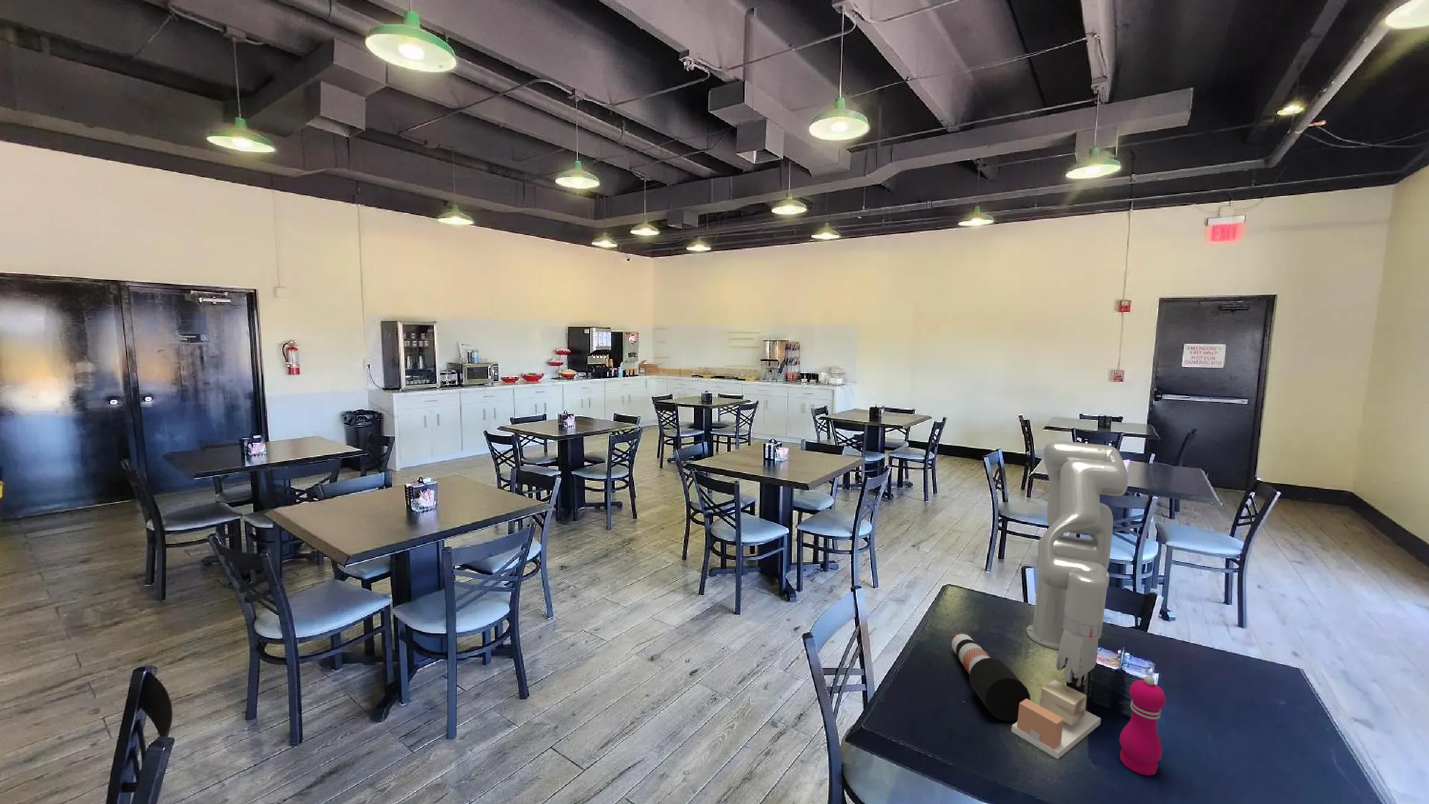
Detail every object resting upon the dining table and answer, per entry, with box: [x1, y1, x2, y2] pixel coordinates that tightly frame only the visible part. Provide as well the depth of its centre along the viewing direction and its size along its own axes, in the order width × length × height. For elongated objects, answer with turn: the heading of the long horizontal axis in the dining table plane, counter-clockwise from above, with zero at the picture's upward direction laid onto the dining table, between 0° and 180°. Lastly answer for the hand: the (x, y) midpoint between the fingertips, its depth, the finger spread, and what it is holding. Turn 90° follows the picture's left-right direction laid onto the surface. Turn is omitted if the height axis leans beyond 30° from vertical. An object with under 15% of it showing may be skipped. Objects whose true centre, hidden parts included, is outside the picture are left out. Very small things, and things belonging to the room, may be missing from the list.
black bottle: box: [951, 632, 1031, 722], centre depth 149 cm, size 10×34×10 cm, turn 175°
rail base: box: [1011, 699, 1102, 760], centre depth 131 cm, size 20×10×8 cm, turn 124°
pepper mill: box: [1118, 675, 1167, 776], centre depth 120 cm, size 7×7×20 cm
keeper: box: [1039, 679, 1087, 725], centre depth 132 cm, size 6×7×5 cm
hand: (1073, 698), depth 135 cm, fingers closed
